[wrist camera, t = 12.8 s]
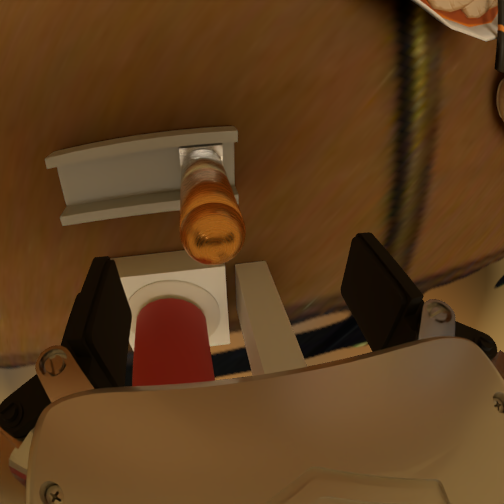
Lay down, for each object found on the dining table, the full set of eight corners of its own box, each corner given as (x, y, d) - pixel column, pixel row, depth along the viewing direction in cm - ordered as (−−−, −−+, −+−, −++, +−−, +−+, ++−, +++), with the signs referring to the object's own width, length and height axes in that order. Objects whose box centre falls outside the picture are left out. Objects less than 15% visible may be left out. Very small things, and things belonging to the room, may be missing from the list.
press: (117, 333, 31) (115, 536, 13) (58, 148, 19) (-130, 426, 1) (267, 317, 34) (332, 513, 16) (276, 122, 22) (545, 385, 3)
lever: (183, 186, 22) (185, 285, 13) (179, 144, 20) (174, 218, 11) (221, 183, 23) (251, 278, 14) (220, 141, 21) (252, 210, 12)
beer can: (192, 346, 30) (206, 455, 20) (130, 333, 27) (125, 448, 17) (217, 303, 27) (240, 427, 17) (146, 285, 24) (140, 419, 14)
